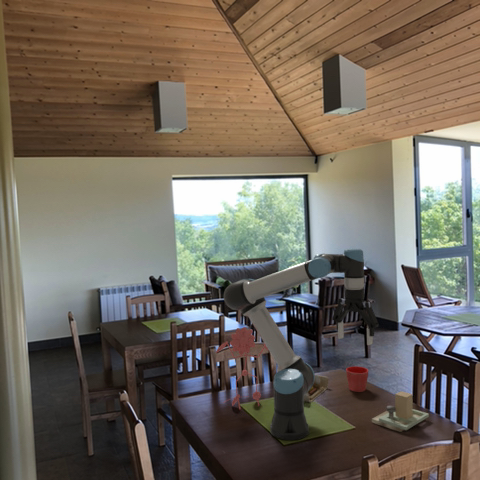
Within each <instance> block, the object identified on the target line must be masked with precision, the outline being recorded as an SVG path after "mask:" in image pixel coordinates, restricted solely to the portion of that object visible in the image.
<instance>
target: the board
mask: <svg viewBox="0 0 480 480" xmlns="http://www.w3.org/2000/svg"><path fill="white" fill-rule="evenodd" d="M395 411H396V408H395V405H387V406H386V411H384V412H382V413H380V414H378V415H377V416H374V417H372V418H371V423H373V424H375V425H379V426H382V427H384V428H387V429H390V430H393V431H397V432H399V433H402V432H403V431H405V430H404V429H401V428H398V427H395V426H392V425H389V424H386V423H383V422H380V421H379V418H380V417H382V416H384V415H386V414H388V413H389V419H392V420H394V412H395ZM413 416H414V417H418V418H419V417H421V416H420V415H417V414H414V413H413ZM395 422H397V423H400V424H403V425H407V424H409V423H407V422H404V421H401V420H400V421H396V420H395Z"/></svg>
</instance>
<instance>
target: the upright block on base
mask: <svg viewBox="0 0 480 480" xmlns="http://www.w3.org/2000/svg"><path fill="white" fill-rule="evenodd" d="M394 395H395V396H394V399H395V400H394V402H395V404H394V407H395V408H396V411H395V412H394V420H392V419H389V413H388V414H386V415H384V416H382V417H380V418H379V421H380V422H383V423H386V424H389V425H392V426H395V427H398V428H401V429H404V431H408V430H409V429H411V428H412V427H414V426H416V425H417V424H419V423H421V422H422V421H424V420H426V419H427V418H429V417H430V413H427V412H424V411H421V410H417V409H414V407H413V393H409V392H406V391H399V392H396V393H395V394H394ZM413 413H414V414H417V415H420V416H421V417H419V418H418V417H414V416H413ZM395 420H396V421H400V420H401V421H404V422H407V423H409V424H407V425H403V424H400V423H397V422H395Z"/></svg>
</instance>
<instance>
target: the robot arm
mask: <svg viewBox="0 0 480 480" xmlns="http://www.w3.org/2000/svg"><path fill="white" fill-rule="evenodd" d="M364 257H365V256H364V251H363V250H362V248H361V249H360V248H346V249H344V251H343V253H342V254H341V253H340V254H339V253H335V254H334V253H317V254H315V255H314V257H313V259H309V260H306V261H304V262H301V263H299V264H296V265H293V266H290V267H287V268H285V269H282V270H279V271H277V272H273V273H271V274H268V275H265V276H263V277H260V278H258V279H254V278H253V279H252V278H243V279H240V280H238V281H236V282H232V283H230V284H229V285H228V286H227V287H226V288H225V289H224V292H223V300H224V304H225V305H226V306H227V307H228V308H229V309H231V310H233V311H240V312H241V314H242V315H243V316H245V317H248V319H249V321H250V322H251V323H252V325H253V327H254V328H255V330H256V331H257V333H258V335H259V337H260V338H261V340H262V342H263V344H264V343H265V345H266V347H267V348H268V350H269V351H268V350H267V351H268V352H269V354H271V356H272V358H273V360H274V361H275V363H276V365H277V370H276V373H275V374H274V376H273V383H272V385H273V389H274V390H273V403H274V404H273V407H274V410H273V416H272V419H271V423H270V427H269V429H270V431H269V432H270V434H271V435H272V436H273V437H274V438H277V439H279V440H283V441H284V440H285V441H286V440H287V441H296V440H297V441H298V440H301V439H304V438H306V437H307V436H308V435H309V433H310V429H309V427H310V426H309V423H308V421H307V418H306V414H305V406H304V405H305V404H304V403H305V401H304V396H305V395H306V393H307V392H308V391H309V390H310V389H311V388H312V386H313V383H314V380H315V375H316V374H315V371H314V369H313V367H312V366H311V365H310V364H308V363H307V362H305V361H304V360H303V358H302V357H301V356H300V355H296V353H295V352H294V350H293V349H292V347H291V346H290V344H289V342H288V341H287V339H286V338H285V336H284V333H282V331H281V330H280V328H279V326H278V325H277V322H275V320H274V318H273V317H272V314H271V313H270V312H269V310H268V308H267V306H266V304H267V300H266V297H268V296H271V295H273V294H274V295H275V294H278V293H280V292H283V291H285V290H288V289H291V288H294V287H296V286H297V287H298V286H300V285H302V284H305V283H309V282H311V281H314V280H317V279H323V278H324V277H327V276H329V274H331V273H332V274H344V277H343V279H344V298H343V297H342V298H338V301H337V302H338V303H337V306H336V308H335V311H334V313H333V316H332V318H331V319H332V321H334V322H335V323H336V330H337V339H338V340H341V339H344V337H345V335H344V334H345V333H344V331H345V330H344V322H343V320H344V319H345V318H346V316H347V315H348V314H349V312H353V313H358V315H360V317H361V318H362V319H363V321H364V322H365V324H366V325H367V328H366V345H367V346H370V345H374V344H373V343H374V339H373V338H374V336H375V328H378V327H379V325H380V324H379V322H378V319H377V316H376V314H375V312H374V310H373V306H372V302H371V301H365V300H364V298H365V289H364V287H365V259H364ZM344 305H345V307H344Z"/></svg>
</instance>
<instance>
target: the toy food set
mask: <svg viewBox="0 0 480 480" xmlns="http://www.w3.org/2000/svg"><path fill="white" fill-rule="evenodd" d="M329 381H330V378H329V376H323V375H318V374H315V380H314V383H313V386H312V388H311V389H310V390H309V391H308V392H307V393H306V395H305V396H304V403H310V404H311V403H312V402H313V401H314V400H316V399H317V398H318V397H319V396H320V395H322V394H323V393H324V392H325V391H327V389H328V387H329V384H330V383H329ZM273 391H274V388H273Z"/></svg>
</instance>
